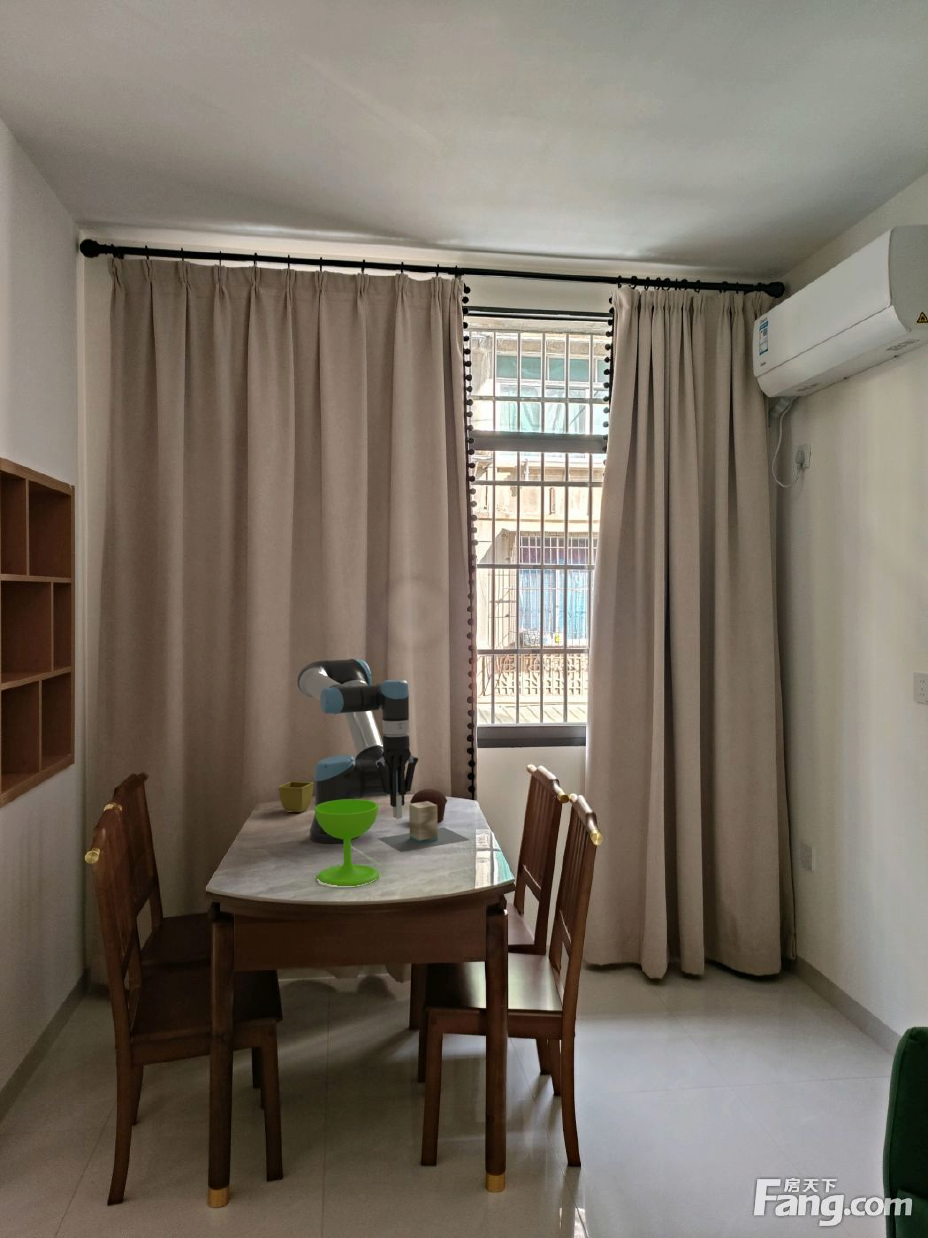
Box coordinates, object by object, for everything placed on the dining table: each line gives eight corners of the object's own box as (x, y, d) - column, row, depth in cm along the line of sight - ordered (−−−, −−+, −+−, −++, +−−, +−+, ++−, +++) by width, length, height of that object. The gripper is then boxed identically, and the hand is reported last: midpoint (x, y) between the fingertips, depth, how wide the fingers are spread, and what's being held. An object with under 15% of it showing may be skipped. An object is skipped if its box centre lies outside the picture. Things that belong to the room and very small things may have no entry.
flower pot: (278, 814, 283) (277, 786, 283) (291, 807, 291) (290, 781, 291) (302, 815, 280) (301, 788, 280) (314, 809, 289) (314, 782, 289)
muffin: (405, 825, 266) (405, 793, 266) (416, 816, 277) (415, 785, 276) (442, 827, 263) (442, 795, 263) (451, 818, 274) (451, 787, 274)
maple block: (419, 843, 245) (418, 808, 244) (409, 838, 250) (409, 804, 250) (437, 840, 248) (437, 805, 247) (428, 835, 253) (427, 801, 253)
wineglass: (303, 878, 217) (301, 807, 217) (354, 863, 228) (352, 796, 228) (341, 893, 206) (339, 818, 205) (392, 877, 217) (391, 806, 216)
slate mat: (401, 853, 236) (401, 852, 236) (377, 840, 250) (377, 838, 250) (470, 841, 247) (470, 839, 247) (444, 829, 261) (444, 827, 261)
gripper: (380, 738, 238) (381, 823, 238) (422, 734, 244) (424, 817, 244) (369, 735, 244) (371, 817, 245) (411, 731, 250) (412, 811, 251)
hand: (397, 817), depth 244 cm, fingers closed
